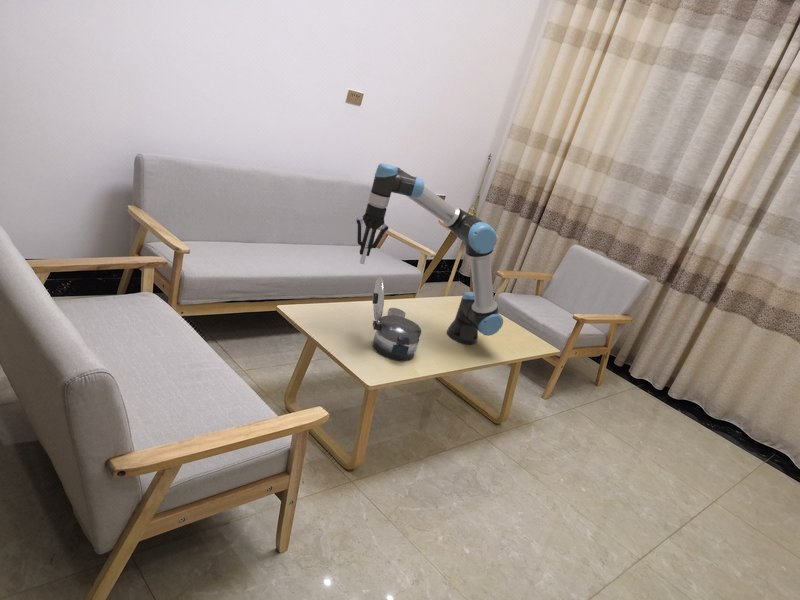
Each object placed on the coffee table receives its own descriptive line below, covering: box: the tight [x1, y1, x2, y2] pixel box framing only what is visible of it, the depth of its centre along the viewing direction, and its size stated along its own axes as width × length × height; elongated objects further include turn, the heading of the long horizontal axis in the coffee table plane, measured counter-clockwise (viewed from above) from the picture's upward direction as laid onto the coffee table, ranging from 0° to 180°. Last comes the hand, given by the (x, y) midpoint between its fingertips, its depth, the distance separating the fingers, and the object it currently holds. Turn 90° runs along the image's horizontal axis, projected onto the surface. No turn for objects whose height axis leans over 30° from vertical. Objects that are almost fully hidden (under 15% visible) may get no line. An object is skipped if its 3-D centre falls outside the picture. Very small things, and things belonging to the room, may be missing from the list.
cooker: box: [372, 315, 422, 362], centre depth 228 cm, size 20×23×12 cm
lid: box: [372, 276, 385, 326], centre depth 220 cm, size 20×18×4 cm
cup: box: [386, 307, 407, 318], centre depth 246 cm, size 8×8×10 cm
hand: (361, 262), depth 213 cm, fingers closed
